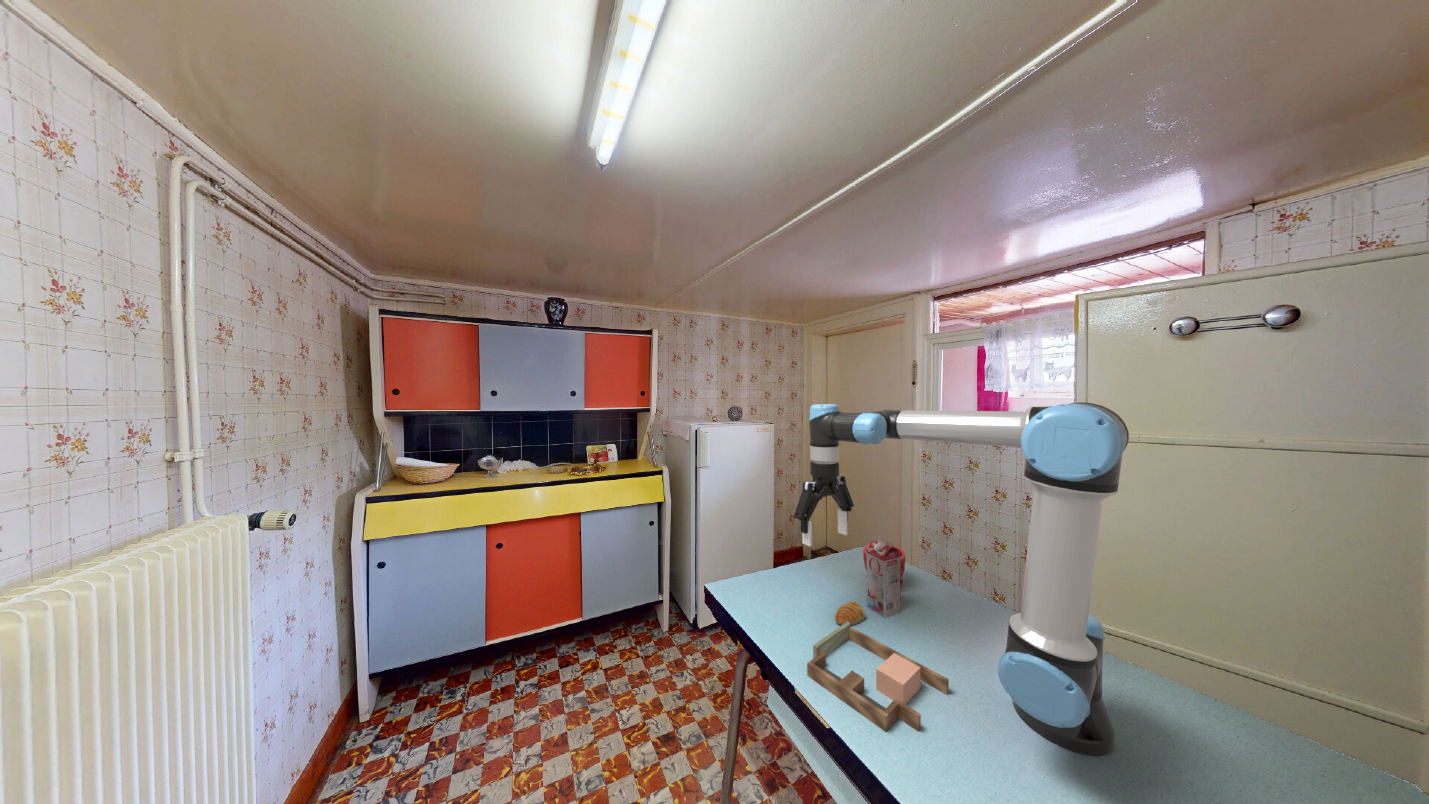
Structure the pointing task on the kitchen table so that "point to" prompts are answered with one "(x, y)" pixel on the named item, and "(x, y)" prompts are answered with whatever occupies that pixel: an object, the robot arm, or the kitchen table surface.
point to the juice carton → (883, 577)
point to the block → (898, 678)
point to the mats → (860, 694)
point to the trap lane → (854, 683)
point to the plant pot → (902, 562)
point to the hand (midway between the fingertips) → (825, 539)
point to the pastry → (850, 613)
